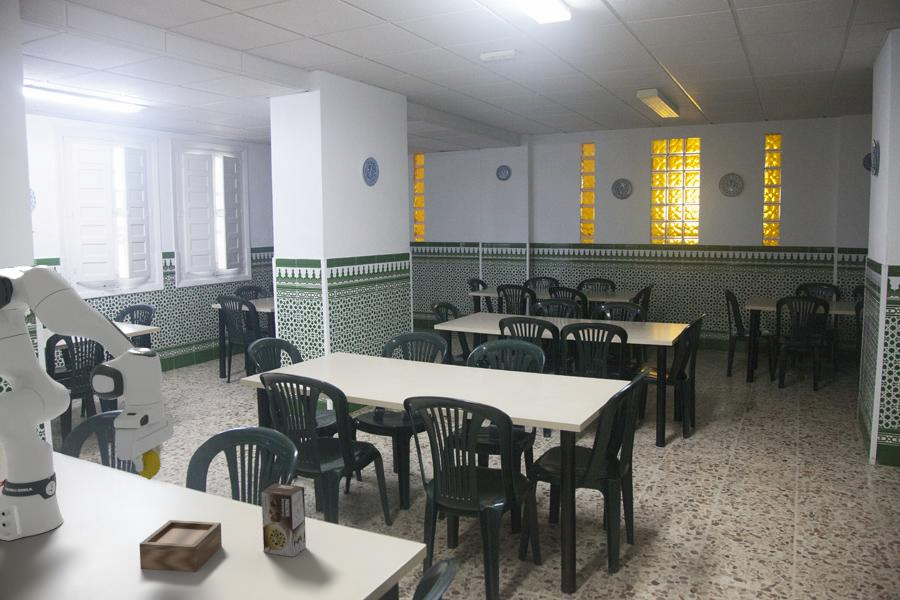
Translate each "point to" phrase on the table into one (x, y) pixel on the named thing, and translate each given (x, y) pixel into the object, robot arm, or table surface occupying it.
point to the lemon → (150, 464)
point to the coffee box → (283, 519)
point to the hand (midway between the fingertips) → (148, 466)
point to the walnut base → (180, 545)
